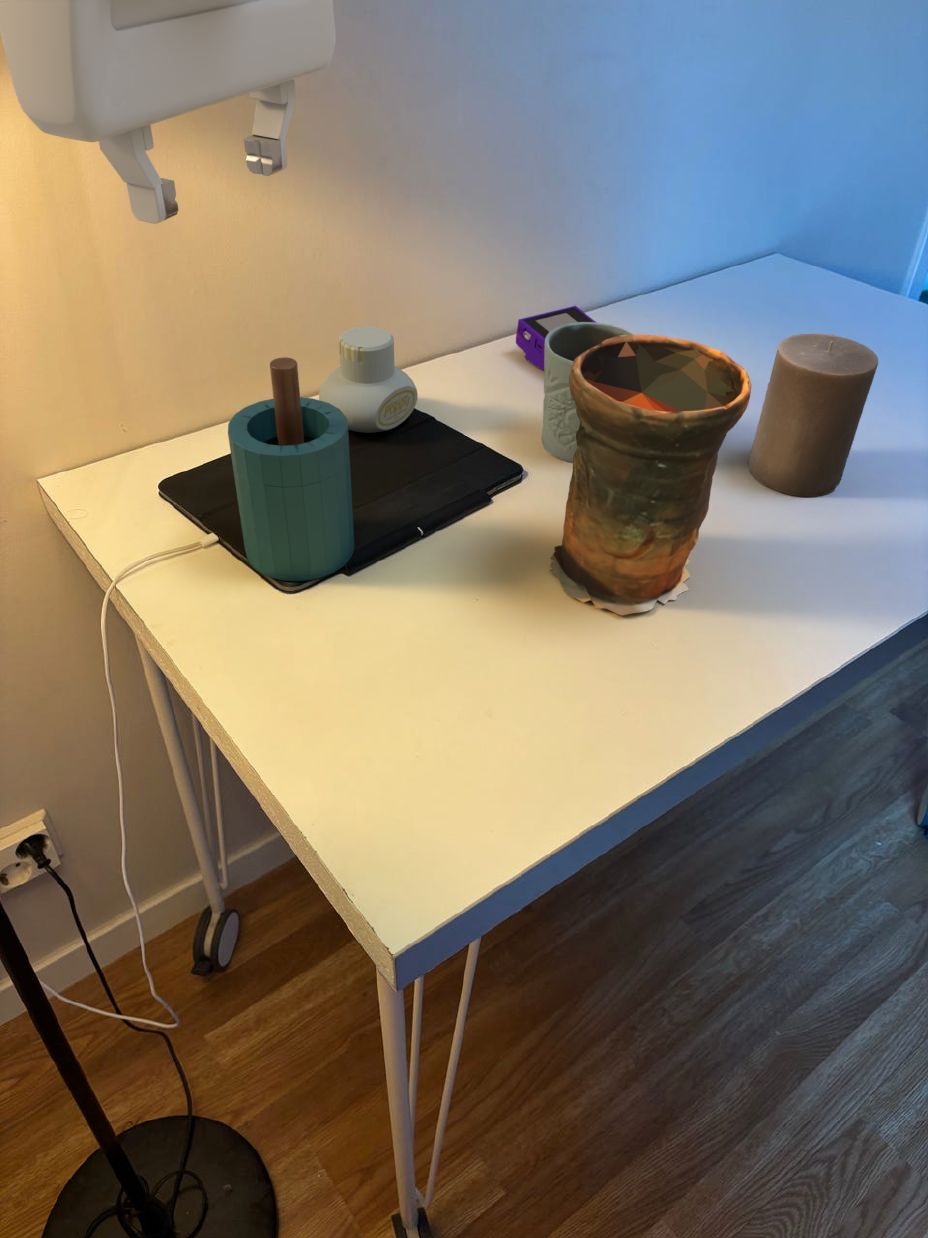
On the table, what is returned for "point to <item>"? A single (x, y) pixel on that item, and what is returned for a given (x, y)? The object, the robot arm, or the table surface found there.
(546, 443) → the green embossed cup
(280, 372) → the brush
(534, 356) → the handheld gaming console
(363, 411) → the air freshener
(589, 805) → the table surface
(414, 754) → the table surface
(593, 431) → the vessel
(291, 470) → the container
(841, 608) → the table surface
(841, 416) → the pillar candle
